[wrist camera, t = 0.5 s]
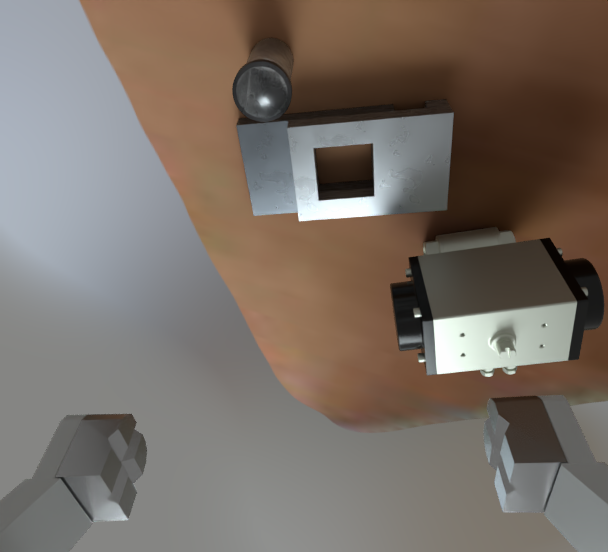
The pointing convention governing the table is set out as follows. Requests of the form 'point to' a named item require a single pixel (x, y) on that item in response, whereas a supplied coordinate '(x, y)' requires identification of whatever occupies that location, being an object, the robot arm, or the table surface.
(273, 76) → the pin
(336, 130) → the square-holed grey plate
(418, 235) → the table surface
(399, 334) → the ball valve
